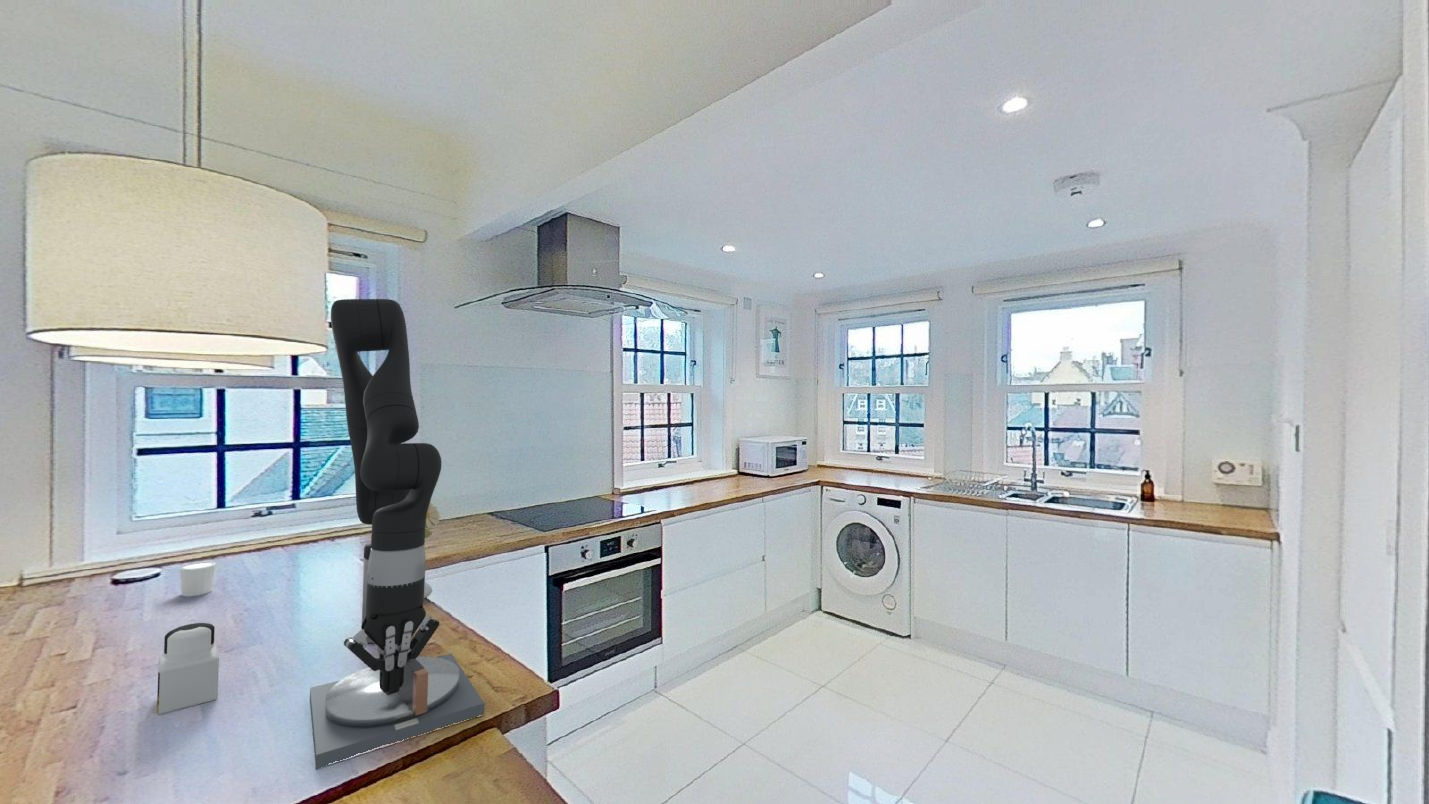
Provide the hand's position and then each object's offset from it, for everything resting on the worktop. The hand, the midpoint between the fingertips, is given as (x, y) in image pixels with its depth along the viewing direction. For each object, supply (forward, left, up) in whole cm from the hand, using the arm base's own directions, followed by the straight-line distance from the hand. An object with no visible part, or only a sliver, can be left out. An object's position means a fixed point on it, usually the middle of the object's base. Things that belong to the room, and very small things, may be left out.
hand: (391, 691), depth 81 cm
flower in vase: (-63, +13, -7) cm, 65 cm away
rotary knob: (-8, +2, -5) cm, 9 cm away
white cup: (-99, -30, -7) cm, 104 cm away
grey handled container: (-32, -25, -7) cm, 41 cm away
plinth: (-9, +2, -7) cm, 12 cm away
